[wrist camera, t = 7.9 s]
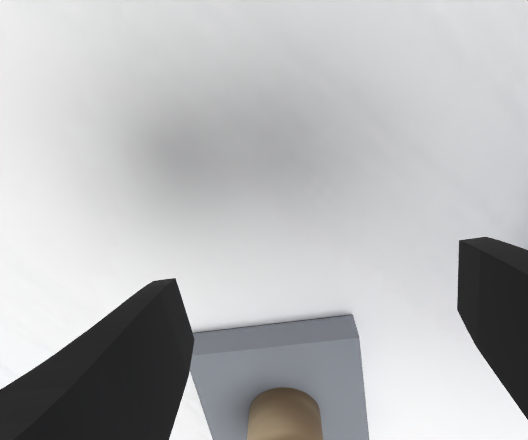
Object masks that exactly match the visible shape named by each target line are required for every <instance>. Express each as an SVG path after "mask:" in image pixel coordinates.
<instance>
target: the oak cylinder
mask: <svg viewBox="0 0 528 440" xmlns="http://www.w3.org/2000/svg"><path fill="white" fill-rule="evenodd" d="M247 440H323V432H322V424H321V415H320V409H319V406H318V404H317V402H316V401H315V400H314V399H313V398H312V397H311V396H310V395H308V394H307V393H305V392H303V391H301V390H298V389H294V388H285V387H283V388H274V389H270V390H267V391H265V392H263V393H261V394H260V395H258V396H257V397H256V398H255V399H254V400H253V402H252V404H251V406H250V410H249V420H248V432H247Z"/></svg>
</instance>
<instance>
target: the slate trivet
mask: <svg viewBox="0 0 528 440" xmlns="http://www.w3.org/2000/svg"><path fill="white" fill-rule="evenodd" d="M193 336H194V339H195V340H194V347H193V353H192V360H191V365H190V372H191V375H192V378H193V381H194V384H195V387H196V390H197V393H198V396H199V399H200V402H201V405H202V408H203V411H204V414H205V417H206V420H207V423H208V426H209V429H210V432H211V435H212V438H213V440H247V432H248V420H249V410H250V406H251V404H252V402H253V400H254V399H255V398H256V397H257V396H258V395H260V394H261V393H263V392H265V391H267V390H270V389H274V388H283V387H285V388H294V389H298V390H301V391H303V392H305V393H307V394H308V395H310V396H311V397H312V398H313V399H314V400H315V401H316V402H317V404H318V406H319V409H320V415H321V424H322V432H323V440H369V433H368V422H367V412H366V402H365V392H364V382H363V372H362V361H361V351H360V341H359V335H358V332H357V328H356V325H355V321H354V318H353V315H347V316H339V317H330V318H321V319H313V320H304V321H295V322H287V323H278V324H269V325H261V326H252V327H243V328H235V329H226V330H217V331H209V332H200V333H193Z"/></svg>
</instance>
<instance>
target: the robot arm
mask: <svg viewBox="0 0 528 440" xmlns="http://www.w3.org/2000/svg"><path fill="white" fill-rule="evenodd" d="M457 310H458V312H459V314H460V316H461V318H462V320H463V322H464V324H465V326H466V328H467V330H468V332H469V334H470V336H471V337H472V339H473V341H474V343H475V345H476V346H477V348H478V349H479V351H480V352H481V354H482V355H483V357H484V358H485V360H486V361H487V363H488V364H489V365H490V367H491V368H492V370H493V371H494V373H495V374H496V375H497V377H498V378H499V380H500V381H501V383H502V384H503V385H504V387H505V388H506V390H507V391H508V392H509V394H510V395H511V397H512V398H513V399H514V401H515V402H516V404H517V405H518V407H519V408H520V409H521V411H522V412H523V414H524V415H525V416H526V418H527V419H528V250H526V249H523V248H520V247H517V246H514V245H511V244H508V243H505V242H502V241H499V240H496V239H492V238H488V237H481V238H474V239H466V240H459V268H458V303H457ZM194 340H195V339H194V336H193V333H192V330H191V326H190V323H189V320H188V317H187V314H186V310H185V307H184V304H183V301H182V298H181V294H180V291H179V288H178V285H177V282H176V278H173V279H165V280H158V281H153V282H151V283H150V284H148V285H146V286H145V287H144V288H142V289H141V290H139V291H138V292H137V293H135V294H134V295H133V296H131V297H130V298H129V299H128V300H126V301H125V302H124V303H122V304H121V305H120V306H119V307H117V308H116V309H115V310H113V311H112V312H111V313H110V314H108V315H107V316H106V317H104V318H103V319H102V320H101V321H99V322H98V323H97V324H95V325H94V326H93V327H92V328H90V329H89V330H88V331H86V332H85V333H83V334H82V335H81V336H79V337H78V338H77V339H75V340H74V341H72V342H71V343H70V344H68V345H67V346H66V347H64V348H63V349H61V350H60V351H59V352H57V353H56V354H55V355H53V356H52V357H50V358H49V359H47V360H46V361H45V362H43V363H42V364H40V365H39V366H37V367H35V368H34V369H32V370H31V371H29V372H28V373H26V374H25V375H23V376H21V377H20V378H18V379H17V380H15V381H14V382H12V383H10V384H9V385H7V386H6V387H4V388H2V389H1V390H0V440H169V437H170V434H171V431H172V428H173V425H174V421H175V418H176V415H177V412H178V409H179V405H180V402H181V399H182V396H183V392H184V389H185V386H186V382H187V379H188V375H189V370H190V365H191V360H192V353H193V347H194Z"/></svg>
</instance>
